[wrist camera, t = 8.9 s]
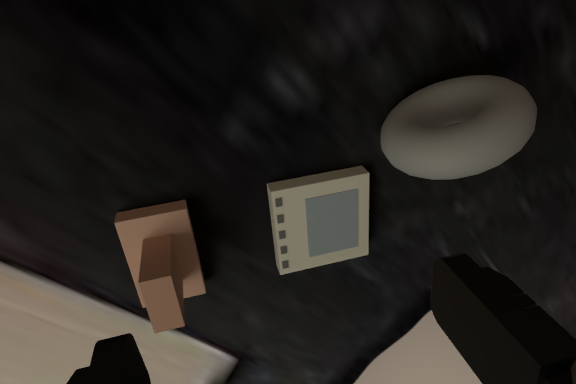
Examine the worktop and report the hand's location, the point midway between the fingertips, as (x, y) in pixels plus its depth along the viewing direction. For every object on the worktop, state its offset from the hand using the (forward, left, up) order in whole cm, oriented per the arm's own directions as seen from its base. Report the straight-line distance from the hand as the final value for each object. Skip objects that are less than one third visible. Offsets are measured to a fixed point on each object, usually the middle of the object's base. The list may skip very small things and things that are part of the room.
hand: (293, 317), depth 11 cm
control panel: (-7, +11, -21) cm, 24 cm away
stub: (+6, +11, -21) cm, 24 cm away
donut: (-15, +2, -21) cm, 26 cm away
